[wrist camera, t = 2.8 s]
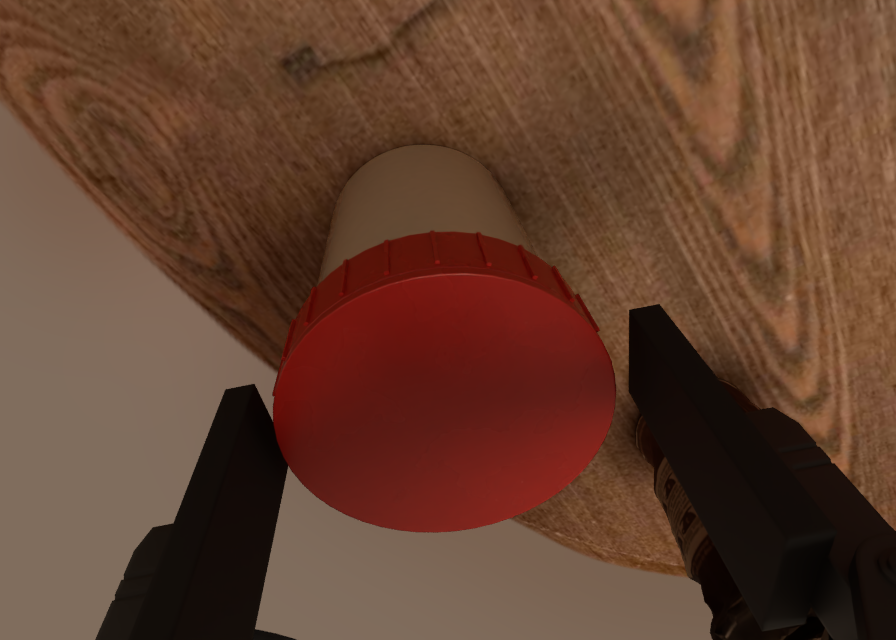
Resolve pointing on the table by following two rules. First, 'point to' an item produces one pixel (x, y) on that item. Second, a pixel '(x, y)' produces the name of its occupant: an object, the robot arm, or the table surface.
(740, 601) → the coffee cup
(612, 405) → the lid
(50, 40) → the table surface
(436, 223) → the jar
